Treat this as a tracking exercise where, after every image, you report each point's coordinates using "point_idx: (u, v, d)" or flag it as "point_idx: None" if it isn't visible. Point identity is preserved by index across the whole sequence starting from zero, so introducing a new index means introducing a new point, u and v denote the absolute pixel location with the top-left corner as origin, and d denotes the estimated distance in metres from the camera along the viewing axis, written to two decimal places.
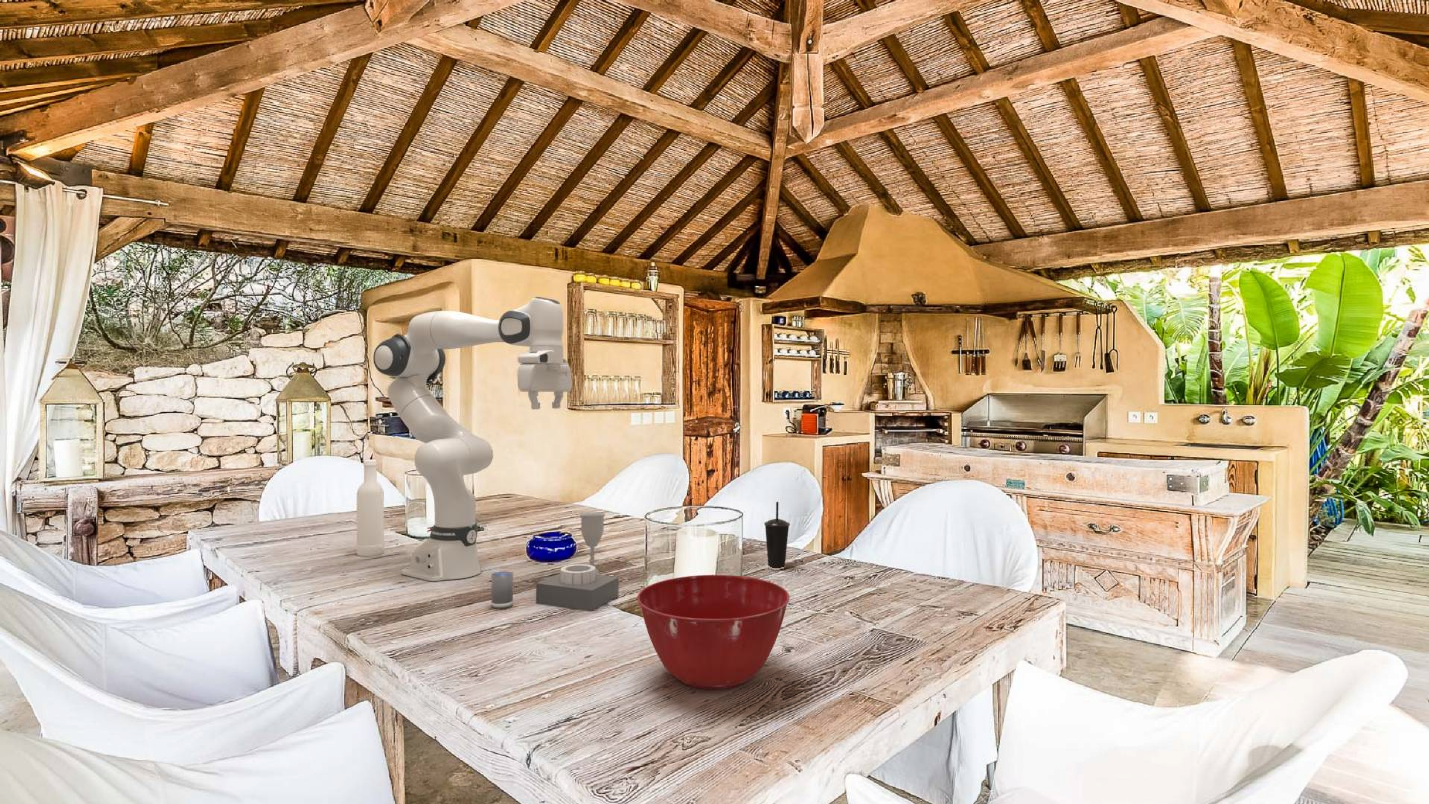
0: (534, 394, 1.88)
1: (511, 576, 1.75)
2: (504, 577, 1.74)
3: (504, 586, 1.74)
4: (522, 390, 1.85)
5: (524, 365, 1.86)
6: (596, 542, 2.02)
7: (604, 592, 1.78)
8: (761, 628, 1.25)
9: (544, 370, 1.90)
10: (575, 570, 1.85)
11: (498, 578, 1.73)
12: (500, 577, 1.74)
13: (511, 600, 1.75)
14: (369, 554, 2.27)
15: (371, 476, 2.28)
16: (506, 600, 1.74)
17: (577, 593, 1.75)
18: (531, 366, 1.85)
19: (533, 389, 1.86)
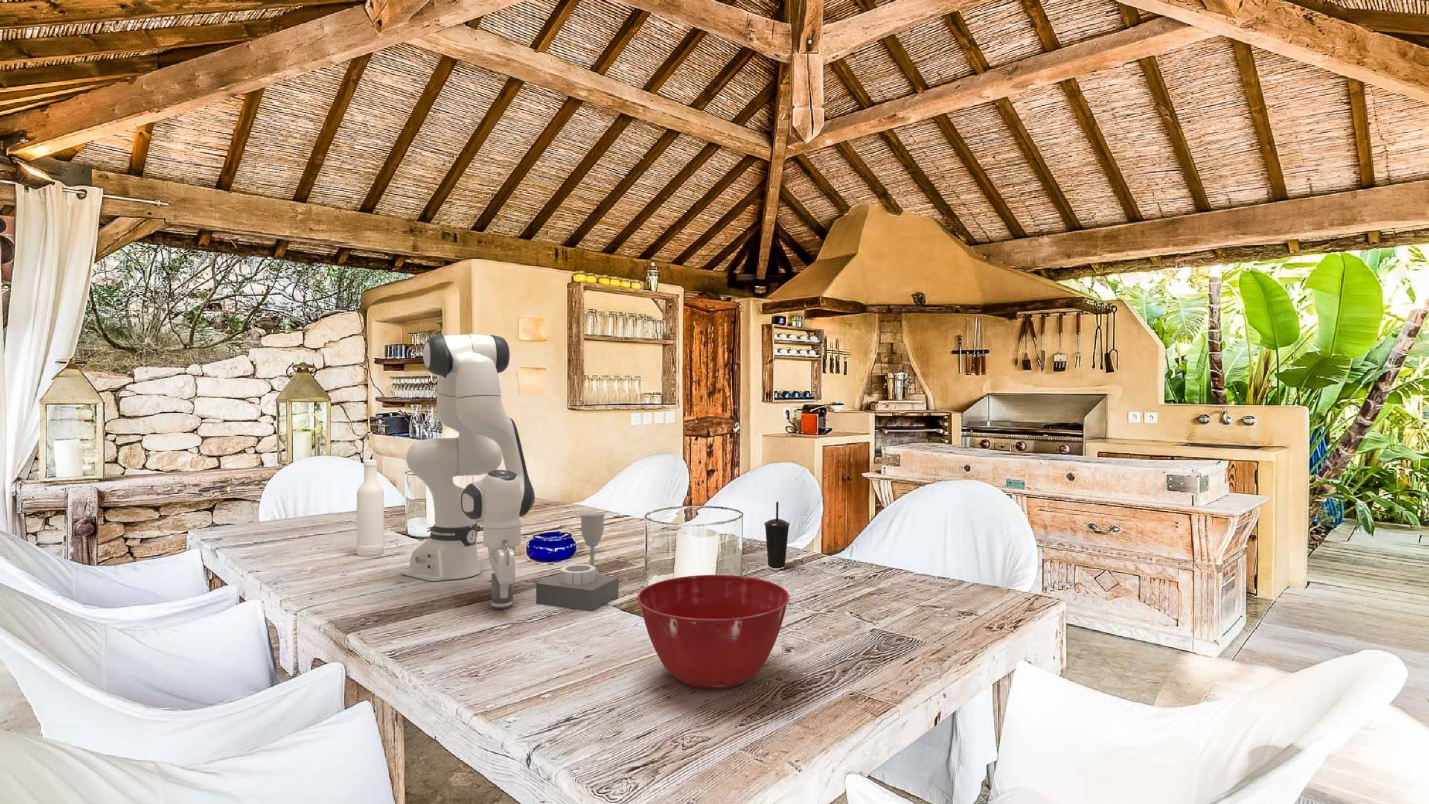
0: None
1: None
2: None
3: None
4: None
5: None
6: (596, 542, 2.02)
7: (604, 592, 1.78)
8: (761, 628, 1.25)
9: None
10: (575, 570, 1.85)
11: None
12: None
13: (511, 600, 1.75)
14: (369, 554, 2.27)
15: (371, 476, 2.28)
16: (506, 600, 1.74)
17: (577, 593, 1.75)
18: None
19: (490, 565, 1.83)
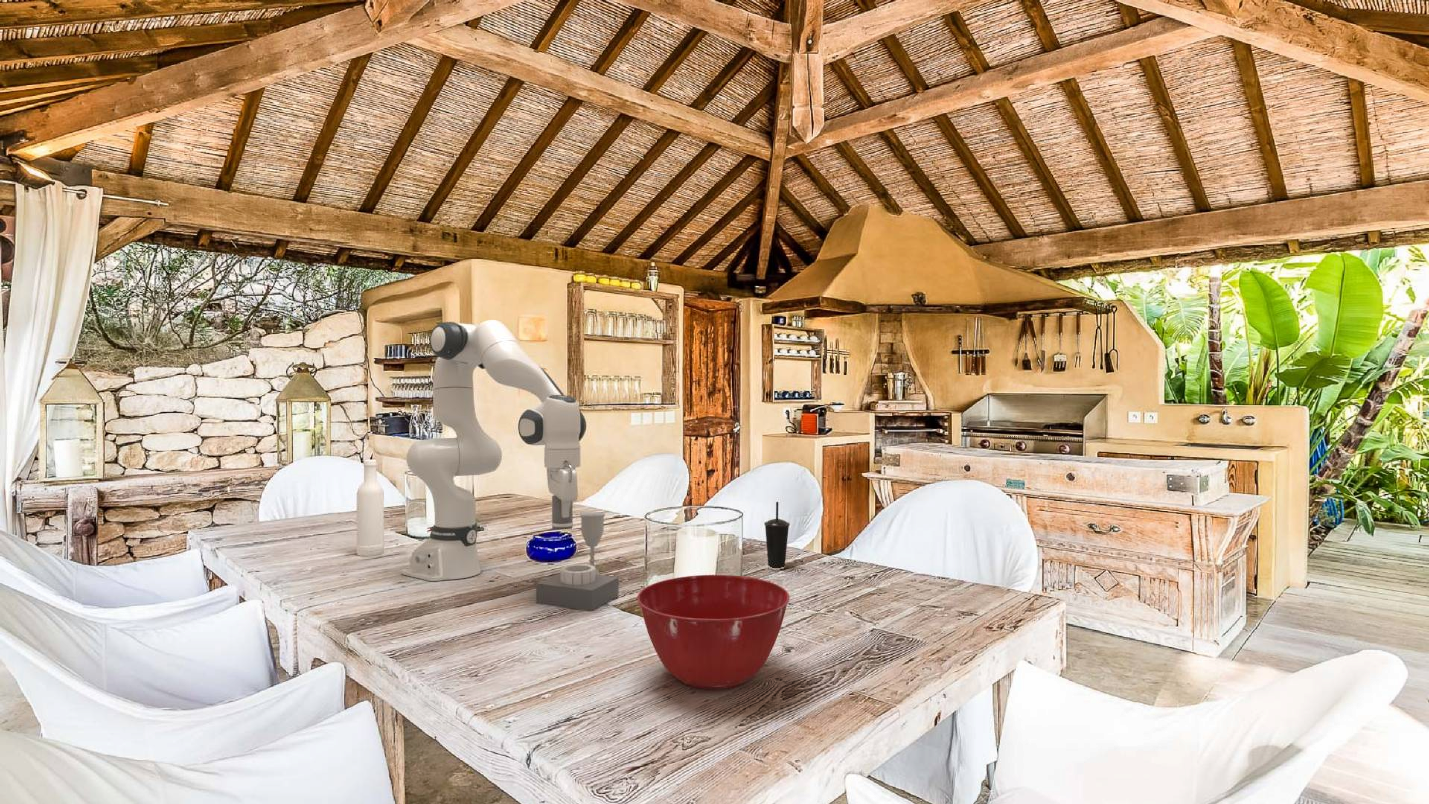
0: None
1: None
2: None
3: None
4: None
5: None
6: (596, 542, 2.02)
7: (604, 592, 1.78)
8: (761, 628, 1.25)
9: None
10: (575, 570, 1.85)
11: None
12: None
13: (571, 521, 1.79)
14: (369, 554, 2.27)
15: (371, 476, 2.28)
16: (567, 520, 1.78)
17: (577, 593, 1.75)
18: None
19: (549, 490, 1.87)
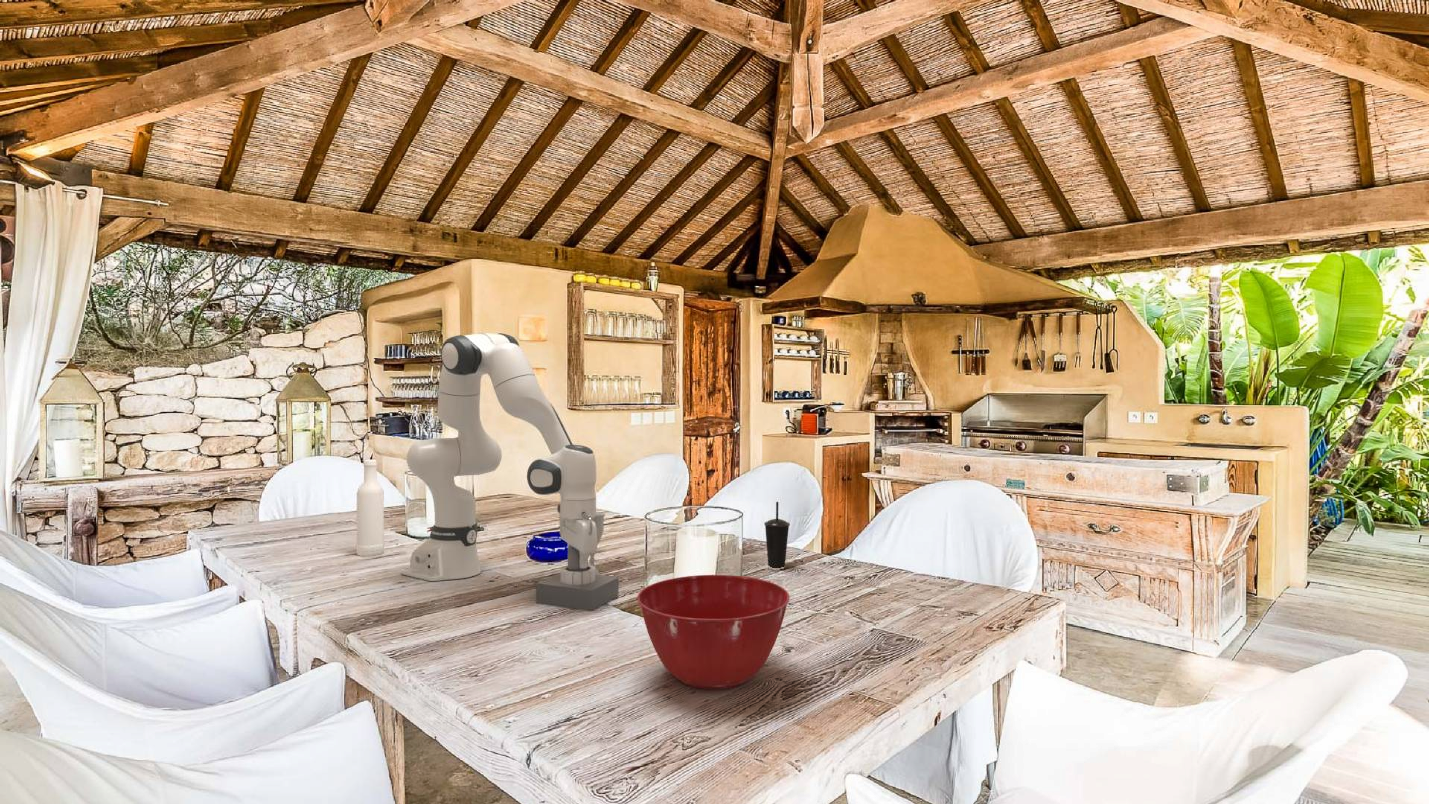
0: None
1: None
2: None
3: None
4: None
5: None
6: None
7: (604, 592, 1.78)
8: (761, 628, 1.25)
9: None
10: None
11: (576, 552, 1.79)
12: (578, 551, 1.80)
13: None
14: (369, 554, 2.27)
15: (371, 476, 2.28)
16: None
17: (577, 593, 1.75)
18: None
19: (562, 537, 1.88)
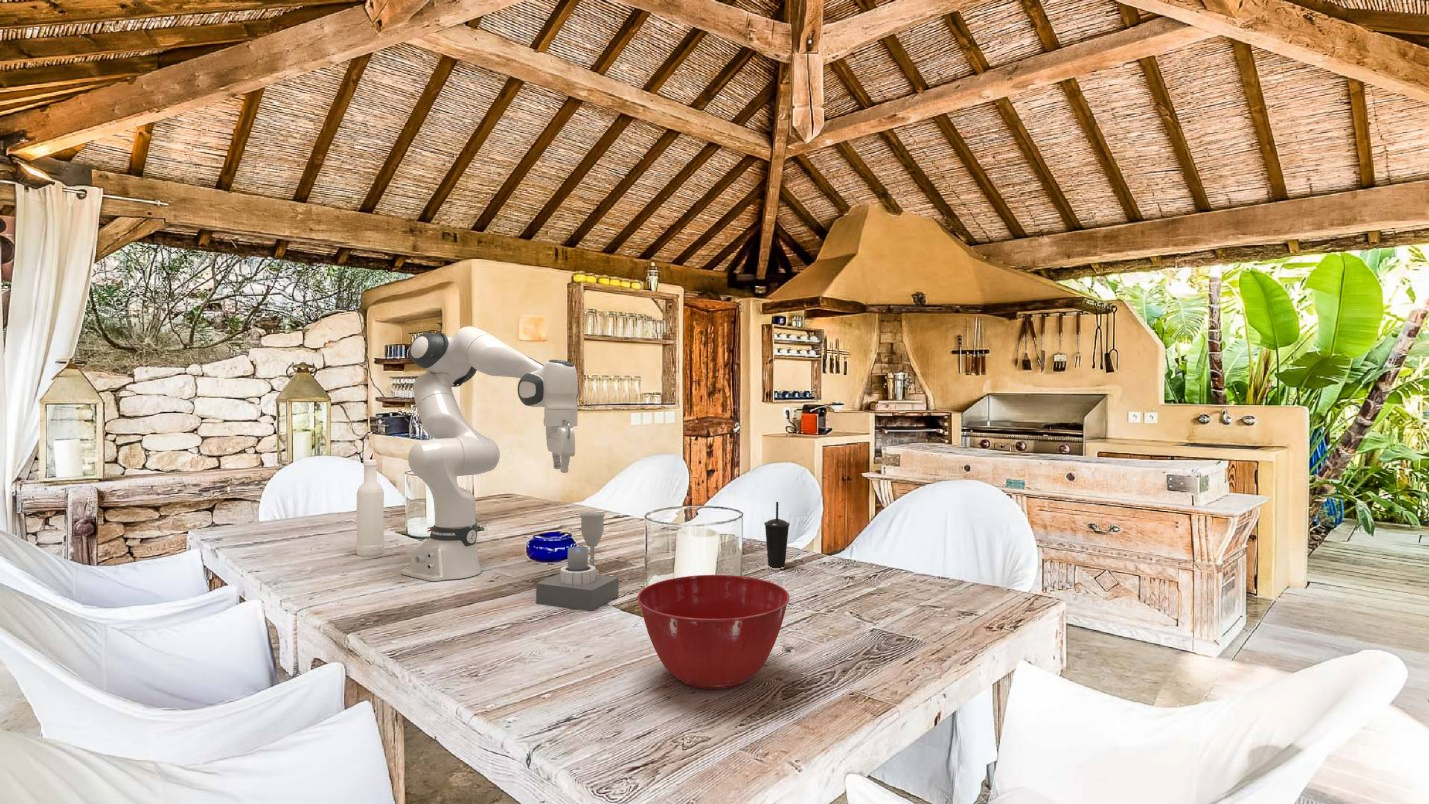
0: None
1: (587, 550, 1.82)
2: (581, 551, 1.80)
3: (581, 560, 1.80)
4: None
5: None
6: (596, 542, 2.02)
7: (604, 592, 1.78)
8: (761, 628, 1.25)
9: None
10: None
11: (576, 552, 1.79)
12: (578, 551, 1.80)
13: None
14: (369, 554, 2.27)
15: (371, 476, 2.28)
16: None
17: (577, 593, 1.75)
18: None
19: (548, 449, 2.02)
